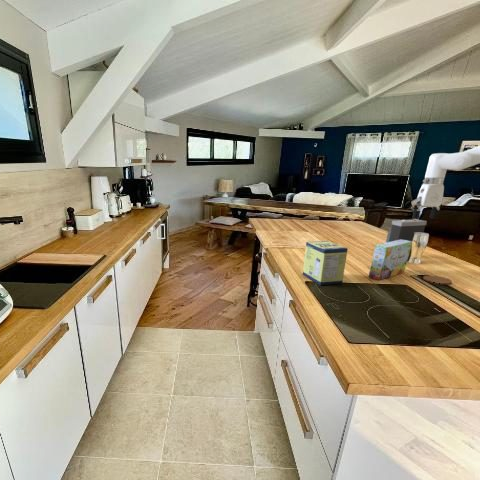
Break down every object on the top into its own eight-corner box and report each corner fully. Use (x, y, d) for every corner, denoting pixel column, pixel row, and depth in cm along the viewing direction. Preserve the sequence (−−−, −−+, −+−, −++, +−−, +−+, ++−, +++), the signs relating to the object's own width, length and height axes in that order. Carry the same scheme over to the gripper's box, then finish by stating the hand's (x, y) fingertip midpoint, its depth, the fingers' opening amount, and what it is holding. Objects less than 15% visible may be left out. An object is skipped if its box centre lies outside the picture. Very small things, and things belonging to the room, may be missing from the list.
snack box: (380, 281, 135) (387, 247, 130) (367, 277, 140) (374, 244, 134) (405, 272, 146) (413, 240, 140) (393, 269, 150) (399, 238, 145)
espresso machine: (417, 259, 167) (427, 220, 159) (393, 260, 165) (402, 221, 157) (403, 254, 175) (412, 217, 168) (380, 256, 173) (388, 218, 166)
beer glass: (403, 260, 165) (410, 232, 159) (418, 260, 163) (425, 232, 158) (409, 264, 158) (416, 234, 153) (424, 264, 157) (432, 235, 152)
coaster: (436, 276, 140) (437, 274, 140) (457, 283, 131) (458, 282, 131) (417, 277, 139) (417, 276, 138) (437, 285, 129) (437, 283, 129)
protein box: (322, 273, 147) (326, 240, 141) (342, 284, 132) (348, 248, 127) (301, 274, 145) (305, 241, 140) (320, 285, 131) (325, 249, 125)
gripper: (424, 182, 142) (414, 220, 148) (456, 181, 145) (446, 219, 151) (410, 181, 149) (402, 218, 155) (442, 181, 152) (432, 217, 158)
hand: (423, 218), depth 153 cm, fingers open, 9 cm apart
